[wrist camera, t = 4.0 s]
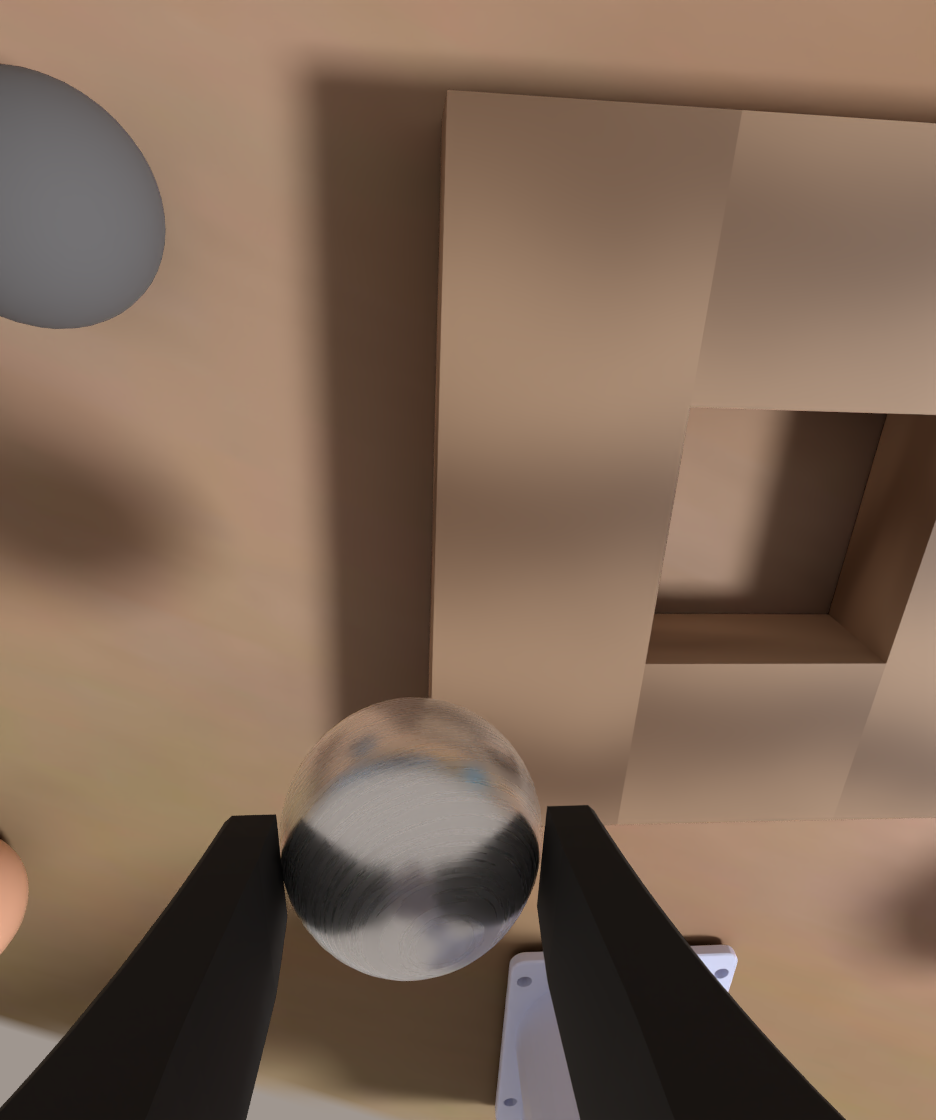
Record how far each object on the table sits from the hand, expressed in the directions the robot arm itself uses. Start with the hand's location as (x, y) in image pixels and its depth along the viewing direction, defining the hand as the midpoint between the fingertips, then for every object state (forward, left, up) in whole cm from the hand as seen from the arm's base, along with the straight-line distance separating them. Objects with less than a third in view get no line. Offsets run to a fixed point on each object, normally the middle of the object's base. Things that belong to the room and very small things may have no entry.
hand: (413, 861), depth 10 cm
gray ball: (+9, +7, -6) cm, 13 cm away
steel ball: (0, 0, -1) cm, 1 cm away
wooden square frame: (+3, -8, -8) cm, 12 cm away
